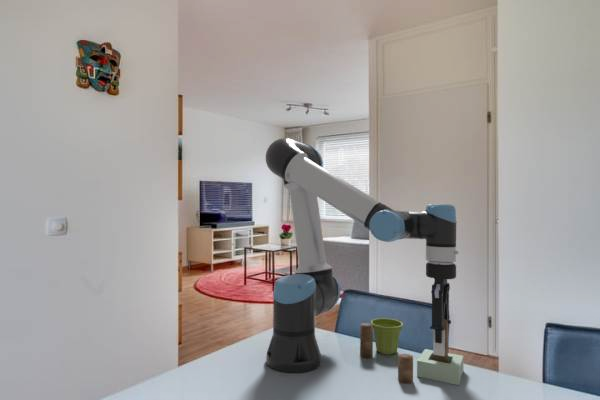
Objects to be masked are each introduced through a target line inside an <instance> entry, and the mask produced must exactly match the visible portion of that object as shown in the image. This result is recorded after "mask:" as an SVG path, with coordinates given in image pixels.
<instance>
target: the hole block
mask: <svg viewBox="0 0 600 400" xmlns="http://www.w3.org/2000/svg"><path fill="white" fill-rule="evenodd" d="M463 373H464V355H461V354H455V353H449V352H448V363H444V362H439V361H434V360H433V349H427V348H425V349H424V350H423V351H422V352H421V354H420V356H419V357H418V359H417V360H416V377H418V378H423V379H426V380H427V379H428V380H433V381H437V382H442V383H446V384H452V385H456V386H459V385H460V382H461V380H462V378H463V377H462V376H463Z"/></svg>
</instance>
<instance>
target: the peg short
mask: <svg viewBox="0 0 600 400" xmlns="http://www.w3.org/2000/svg"><path fill="white" fill-rule="evenodd" d="M397 356H398V358H397V360H398V361H397V365H398V366H397V381H398V382H400V383H402V384H406V385H407V384H408V385H410V384H413V382H414V356H413V355H411V354H410V353H399V354H398V355H397Z"/></svg>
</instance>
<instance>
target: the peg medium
mask: <svg viewBox="0 0 600 400" xmlns="http://www.w3.org/2000/svg"><path fill="white" fill-rule="evenodd" d="M359 326H360V329H359V330H360V331H359V332H360V337H359V338H360V339H359V340H360V342H359V349H360V350H359V357H361V358H363V359H372V358H373V355H374V354H373V353H374V352H373V346H374V344H373V342H374V339H373V338H374V329H373V325H372V324H371V323H367V322H365V323H360V324H359Z"/></svg>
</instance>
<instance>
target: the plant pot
mask: <svg viewBox="0 0 600 400" xmlns="http://www.w3.org/2000/svg"><path fill="white" fill-rule="evenodd" d="M370 324H372V325H373V336H374V341H375V349H376V352H379V353H380V354H382V355H389V356H390V355H393V354H397V352H398V347H399V345H398V344H399V340H400V334H401V330H402V327H403V325H404V324H403V322H402V321H400V320H397V319H394V318H386V317H385V318H374V319H372V320H371V321H370Z"/></svg>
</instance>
